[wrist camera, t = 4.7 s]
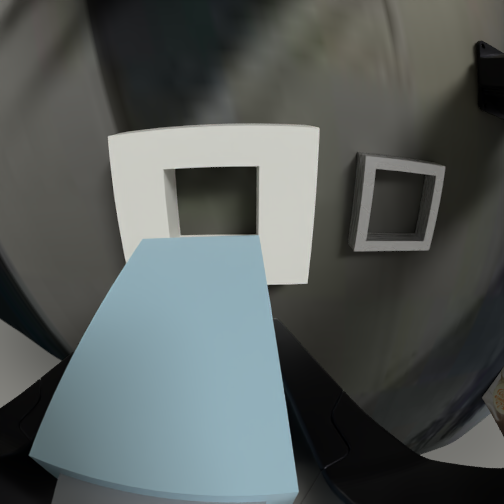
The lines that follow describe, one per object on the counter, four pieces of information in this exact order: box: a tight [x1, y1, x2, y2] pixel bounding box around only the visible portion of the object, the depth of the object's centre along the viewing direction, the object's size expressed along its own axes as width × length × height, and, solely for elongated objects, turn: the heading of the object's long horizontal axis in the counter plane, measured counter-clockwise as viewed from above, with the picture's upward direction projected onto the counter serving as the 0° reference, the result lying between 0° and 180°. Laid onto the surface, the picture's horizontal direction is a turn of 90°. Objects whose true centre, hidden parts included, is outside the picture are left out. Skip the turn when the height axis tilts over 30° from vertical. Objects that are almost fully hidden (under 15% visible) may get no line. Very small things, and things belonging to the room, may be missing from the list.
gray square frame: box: [348, 152, 445, 251], centre depth 19 cm, size 7×7×2 cm
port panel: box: [108, 124, 319, 285], centre depth 18 cm, size 12×10×3 cm
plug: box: [29, 235, 299, 504], centre depth 7 cm, size 4×4×9 cm
